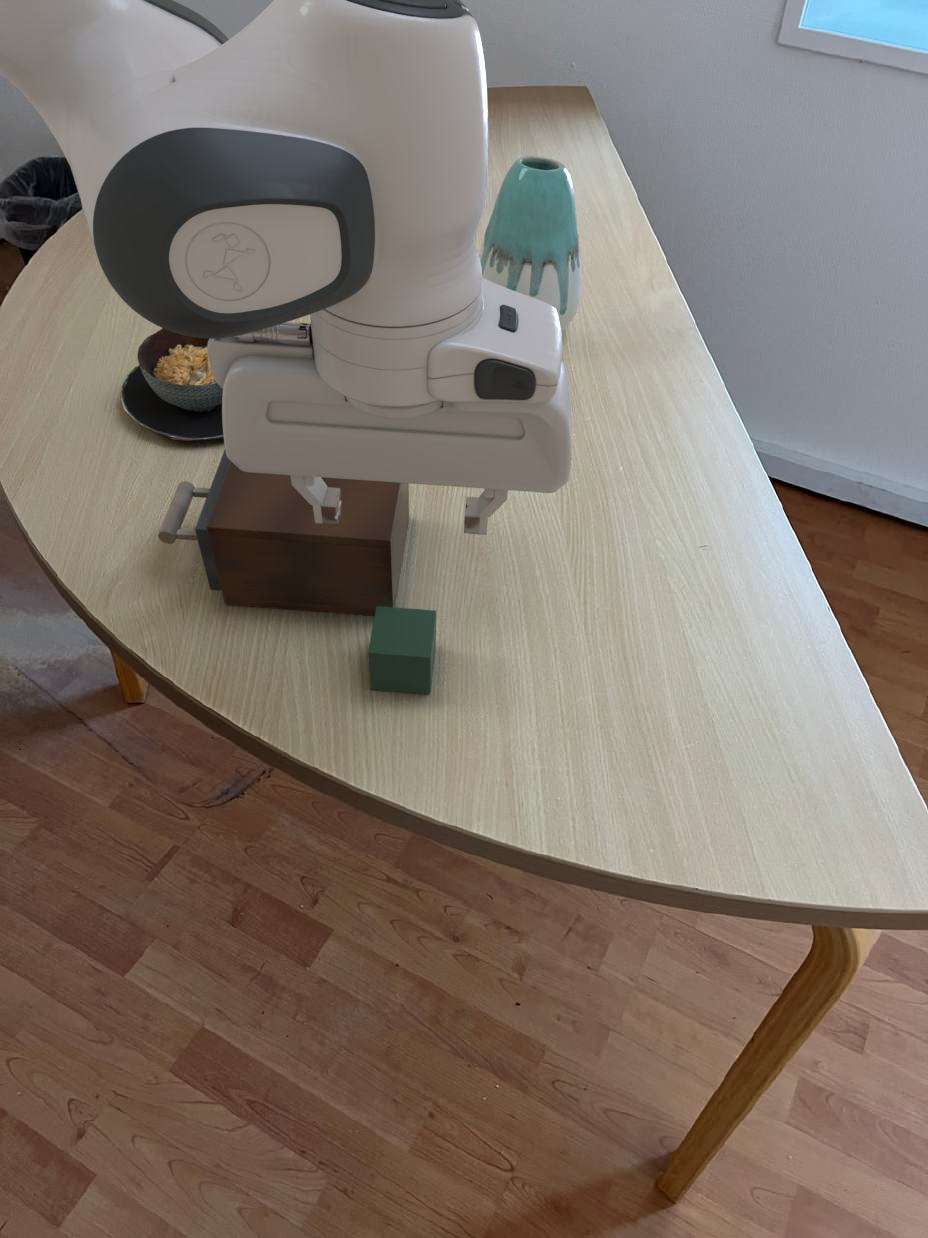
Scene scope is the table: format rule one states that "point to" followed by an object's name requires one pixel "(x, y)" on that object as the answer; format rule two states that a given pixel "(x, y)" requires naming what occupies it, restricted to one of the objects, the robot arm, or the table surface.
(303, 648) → the table surface
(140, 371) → the soup bowl
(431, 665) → the block
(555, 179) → the vase
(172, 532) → the drawer
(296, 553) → the cabinet
